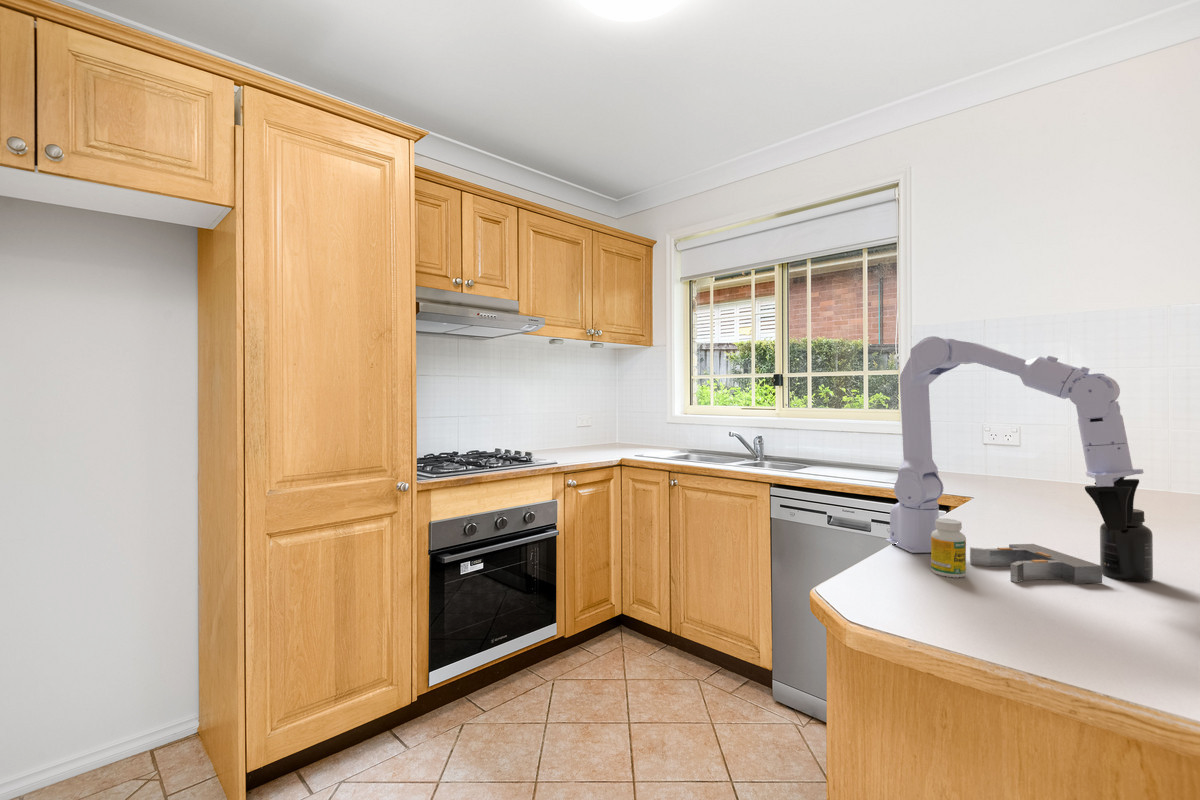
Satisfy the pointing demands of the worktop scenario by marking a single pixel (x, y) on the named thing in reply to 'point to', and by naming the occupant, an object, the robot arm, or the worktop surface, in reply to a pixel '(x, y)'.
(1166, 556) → the worktop surface
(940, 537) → the supplement bottle
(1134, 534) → the supplement bottle
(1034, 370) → the robot arm
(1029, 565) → the grey pronged bracket
